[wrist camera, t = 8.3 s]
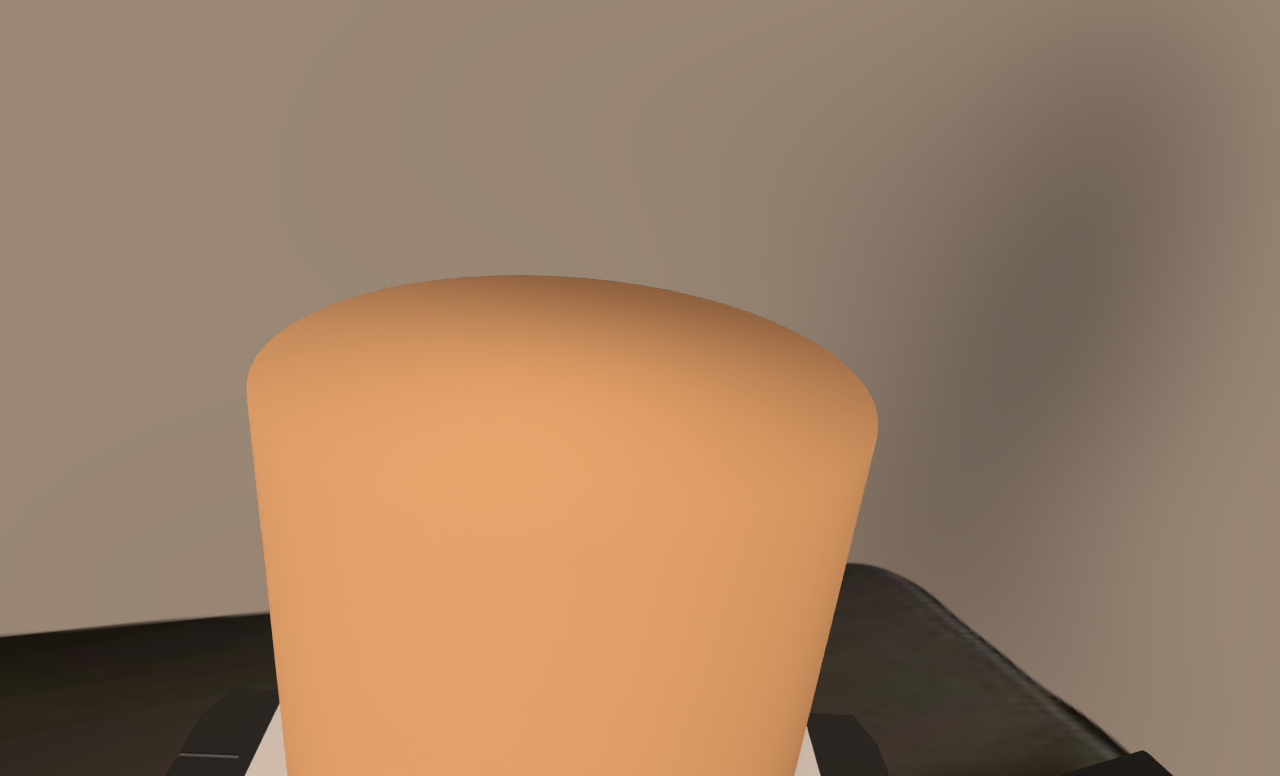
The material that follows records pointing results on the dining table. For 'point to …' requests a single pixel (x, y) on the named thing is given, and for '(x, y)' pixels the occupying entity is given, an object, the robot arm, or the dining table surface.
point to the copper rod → (551, 529)
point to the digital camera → (1125, 767)
